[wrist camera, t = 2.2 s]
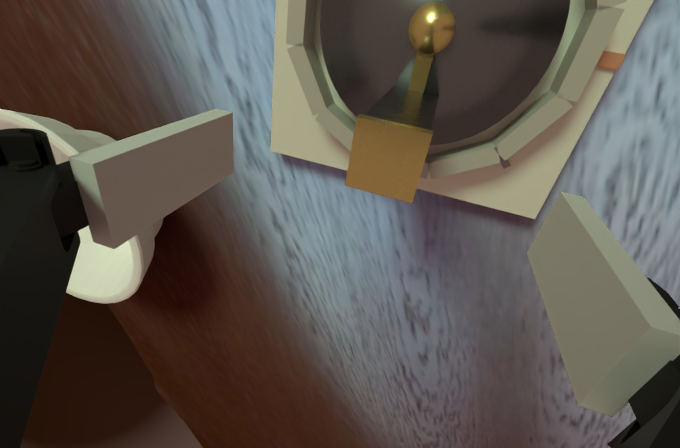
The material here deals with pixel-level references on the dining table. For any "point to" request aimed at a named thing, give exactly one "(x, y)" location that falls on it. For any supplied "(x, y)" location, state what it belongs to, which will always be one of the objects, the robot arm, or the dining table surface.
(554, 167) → the dial board
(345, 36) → the dial
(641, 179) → the dining table surface
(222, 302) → the dining table surface
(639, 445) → the robot arm
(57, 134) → the bowl
